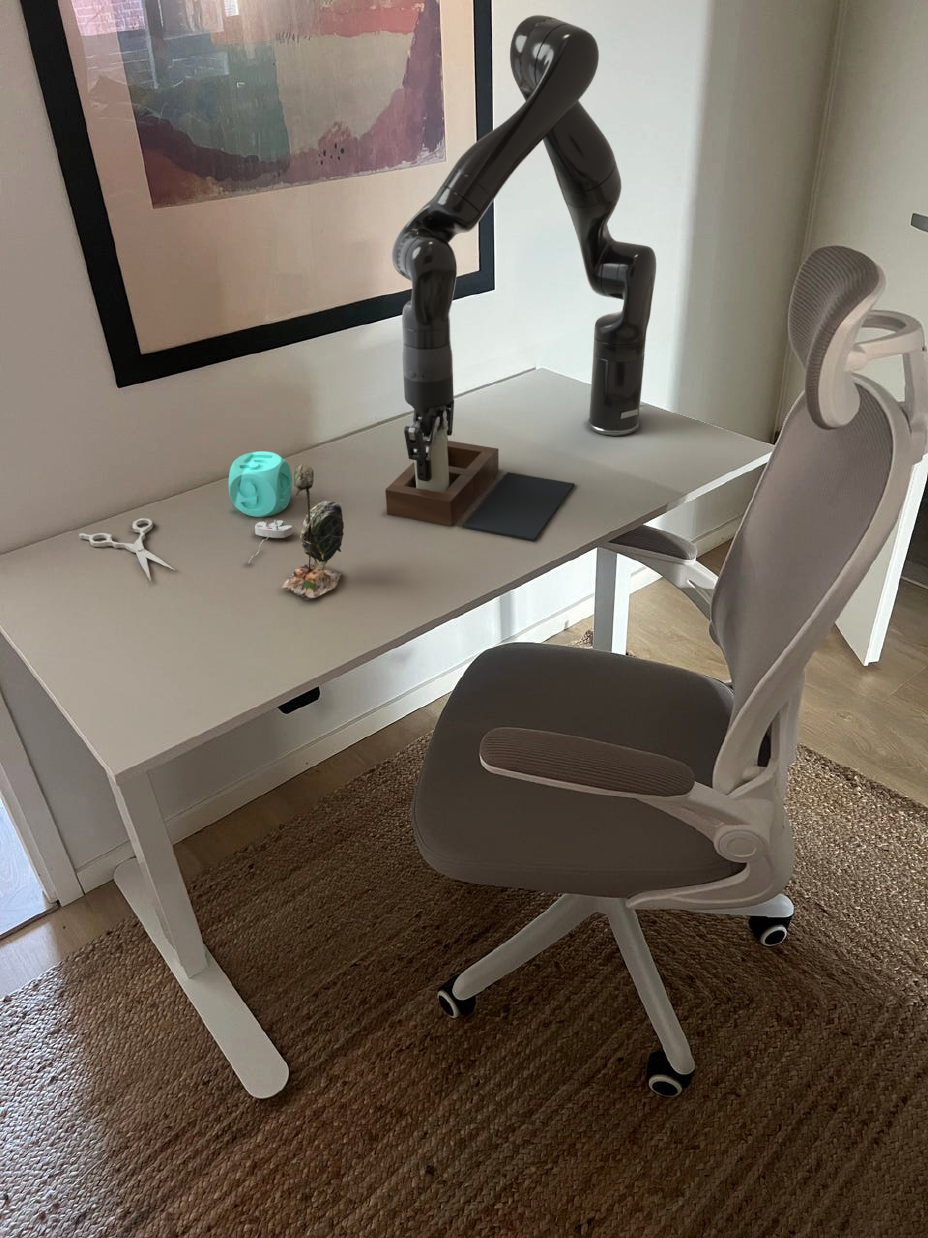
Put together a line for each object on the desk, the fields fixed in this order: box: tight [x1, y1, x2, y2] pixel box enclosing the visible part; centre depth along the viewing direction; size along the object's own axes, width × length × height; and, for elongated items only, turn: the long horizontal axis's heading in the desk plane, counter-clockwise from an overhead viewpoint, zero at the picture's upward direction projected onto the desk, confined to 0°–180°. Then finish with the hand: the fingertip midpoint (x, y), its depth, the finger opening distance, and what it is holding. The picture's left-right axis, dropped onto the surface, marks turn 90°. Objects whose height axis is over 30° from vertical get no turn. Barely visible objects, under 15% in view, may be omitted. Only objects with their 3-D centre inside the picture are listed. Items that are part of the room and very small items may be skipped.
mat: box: [462, 471, 575, 542], centre depth 161 cm, size 20×12×1 cm, turn 157°
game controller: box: [248, 519, 293, 565], centre depth 151 cm, size 6×12×3 cm, turn 2°
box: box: [413, 427, 450, 493], centre depth 158 cm, size 5×4×13 cm
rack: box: [384, 440, 499, 527], centre depth 164 cm, size 21×11×4 cm, turn 157°
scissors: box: [78, 518, 176, 581], centre depth 151 cm, size 11×1×20 cm
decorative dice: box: [228, 451, 293, 518], centre depth 161 cm, size 8×8×8 cm
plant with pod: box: [281, 463, 345, 601], centre depth 138 cm, size 8×11×20 cm
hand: (432, 471), depth 159 cm, fingers closed on box, 5 cm apart
